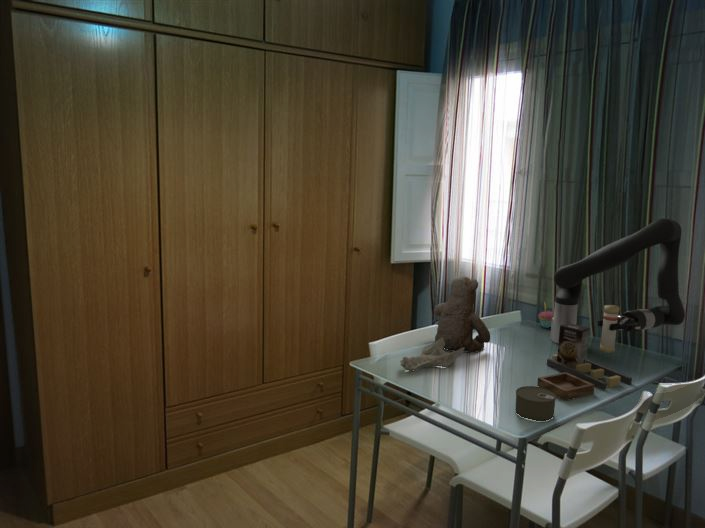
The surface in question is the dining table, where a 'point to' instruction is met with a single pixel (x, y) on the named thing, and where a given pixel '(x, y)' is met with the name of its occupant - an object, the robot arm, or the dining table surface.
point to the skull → (431, 357)
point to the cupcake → (546, 318)
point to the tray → (566, 385)
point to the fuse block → (592, 373)
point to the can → (535, 403)
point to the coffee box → (572, 344)
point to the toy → (461, 318)
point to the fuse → (608, 335)
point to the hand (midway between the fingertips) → (604, 325)
